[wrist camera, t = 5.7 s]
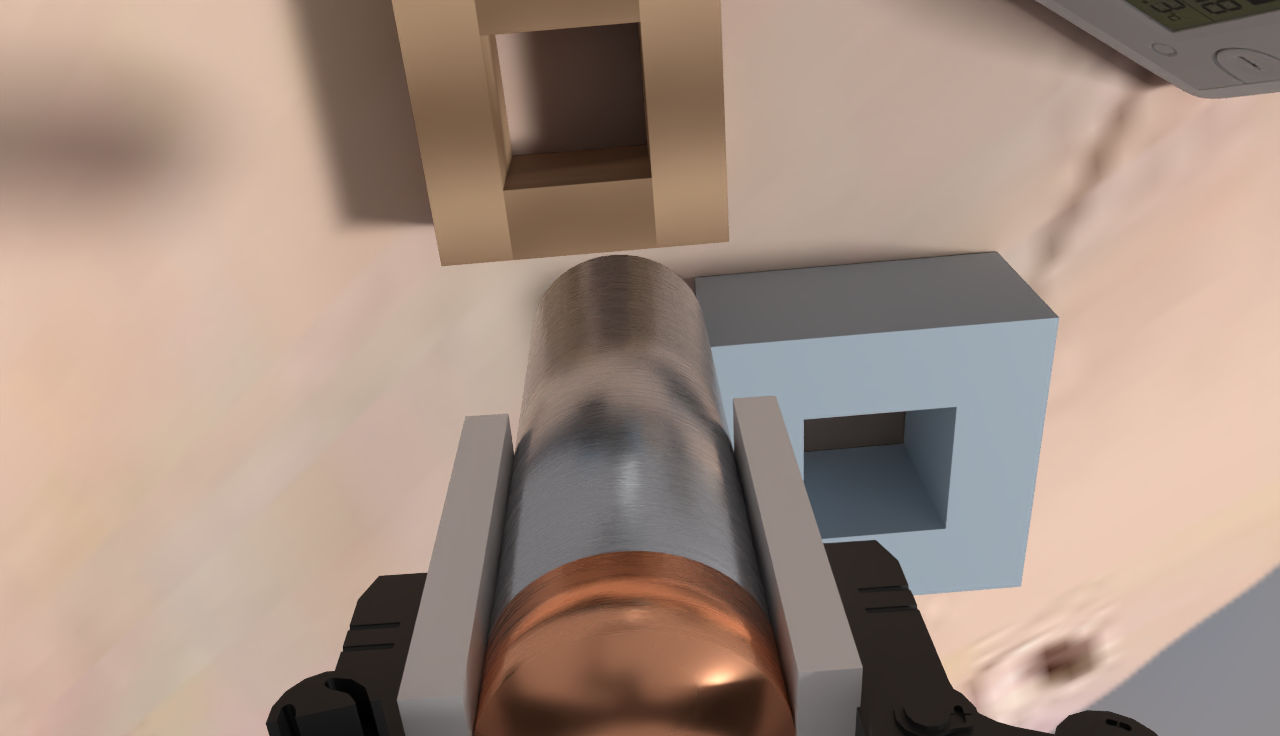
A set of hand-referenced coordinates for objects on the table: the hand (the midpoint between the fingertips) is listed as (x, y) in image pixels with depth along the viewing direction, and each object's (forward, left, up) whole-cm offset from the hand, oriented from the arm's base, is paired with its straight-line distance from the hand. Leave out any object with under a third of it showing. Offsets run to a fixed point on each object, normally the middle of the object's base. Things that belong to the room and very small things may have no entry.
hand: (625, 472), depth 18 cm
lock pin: (0, 0, -6) cm, 6 cm away
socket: (+12, +9, -21) cm, 26 cm away
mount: (-2, -1, -21) cm, 21 cm away
